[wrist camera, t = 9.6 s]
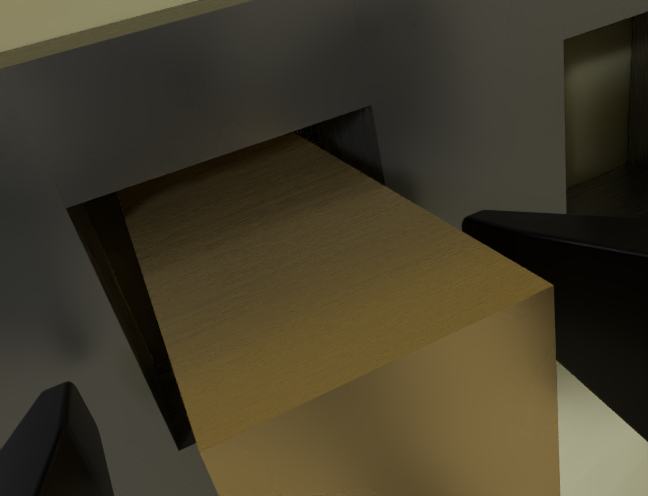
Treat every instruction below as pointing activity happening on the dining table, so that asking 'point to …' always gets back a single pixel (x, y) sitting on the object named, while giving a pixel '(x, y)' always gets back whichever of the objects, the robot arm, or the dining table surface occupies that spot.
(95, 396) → the grey peg hole board
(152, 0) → the dining table surface
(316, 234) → the wooden peg
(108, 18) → the dining table surface
